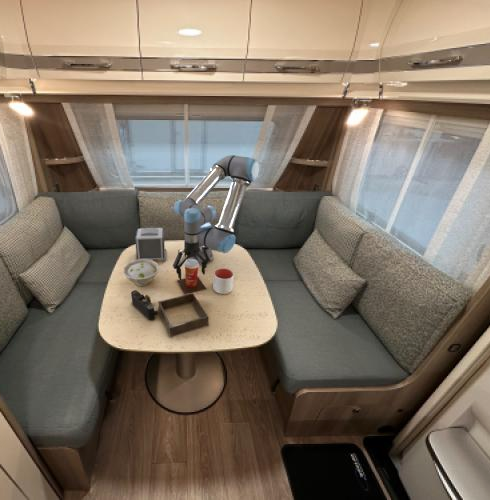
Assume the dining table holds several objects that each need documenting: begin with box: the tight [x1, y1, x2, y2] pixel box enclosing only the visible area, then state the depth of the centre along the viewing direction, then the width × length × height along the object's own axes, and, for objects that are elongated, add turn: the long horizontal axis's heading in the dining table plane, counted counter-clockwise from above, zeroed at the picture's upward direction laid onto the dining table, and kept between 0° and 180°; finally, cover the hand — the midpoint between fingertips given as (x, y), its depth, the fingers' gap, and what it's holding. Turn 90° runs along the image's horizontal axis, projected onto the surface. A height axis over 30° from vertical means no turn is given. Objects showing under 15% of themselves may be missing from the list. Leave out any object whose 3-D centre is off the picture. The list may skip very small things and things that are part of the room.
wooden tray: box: [157, 292, 209, 337], centre depth 121 cm, size 18×18×5 cm
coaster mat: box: [177, 275, 207, 295], centre depth 144 cm, size 12×12×1 cm
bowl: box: [122, 259, 160, 287], centre depth 143 cm, size 19×19×10 cm
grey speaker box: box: [134, 227, 167, 262], centre depth 165 cm, size 18×13×18 cm
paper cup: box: [183, 258, 200, 287], centre depth 140 cm, size 8×8×14 cm
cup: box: [212, 267, 235, 295], centre depth 138 cm, size 10×10×10 cm
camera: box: [130, 289, 159, 321], centre depth 125 cm, size 16×7×8 cm, turn 42°
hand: (191, 275), depth 141 cm, fingers open, 13 cm apart
